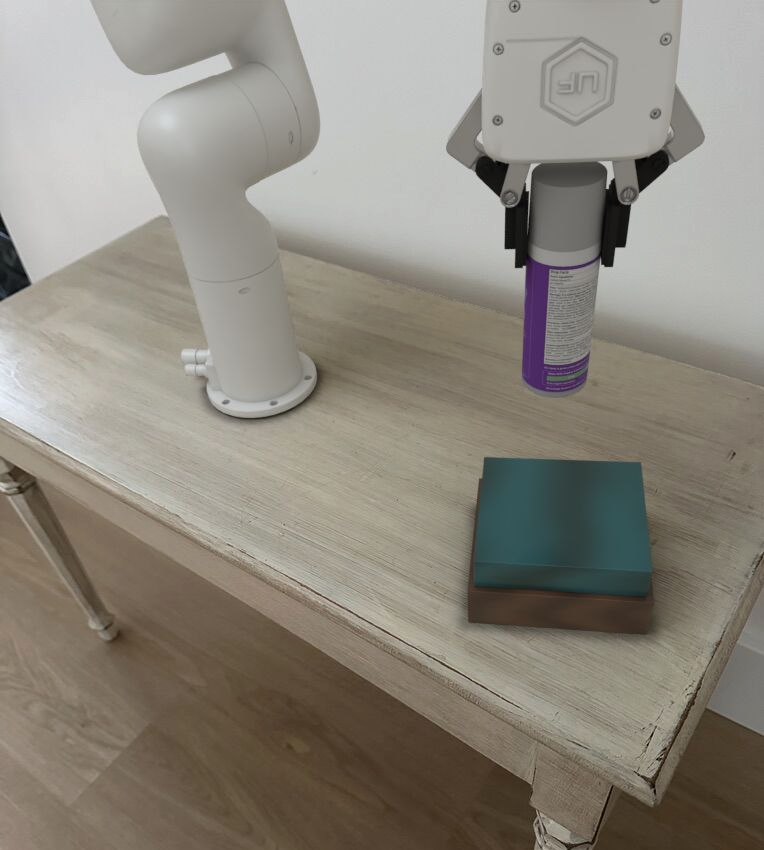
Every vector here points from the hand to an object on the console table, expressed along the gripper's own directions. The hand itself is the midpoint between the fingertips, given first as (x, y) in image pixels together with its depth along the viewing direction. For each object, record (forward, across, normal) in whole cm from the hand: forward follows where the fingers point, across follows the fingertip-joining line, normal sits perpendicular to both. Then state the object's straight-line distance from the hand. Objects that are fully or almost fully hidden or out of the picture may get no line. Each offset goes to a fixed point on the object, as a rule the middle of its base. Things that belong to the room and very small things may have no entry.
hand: (563, 254), depth 51 cm
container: (+10, 0, 0) cm, 10 cm away
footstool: (+27, +1, -3) cm, 27 cm away
